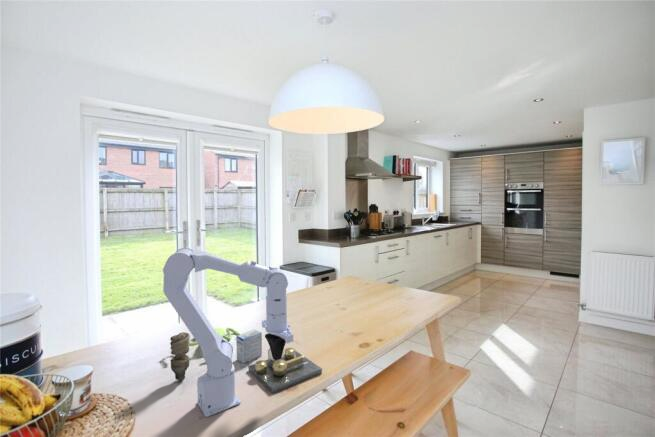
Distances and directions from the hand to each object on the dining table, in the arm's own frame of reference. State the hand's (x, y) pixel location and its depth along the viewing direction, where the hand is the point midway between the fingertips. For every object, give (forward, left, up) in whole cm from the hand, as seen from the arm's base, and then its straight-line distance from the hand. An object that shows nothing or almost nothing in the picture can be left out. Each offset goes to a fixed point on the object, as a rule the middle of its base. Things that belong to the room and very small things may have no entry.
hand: (277, 358), depth 93 cm
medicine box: (+3, +25, -11) cm, 27 cm away
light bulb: (-20, +24, -11) cm, 33 cm away
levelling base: (+8, +9, -10) cm, 16 cm away
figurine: (-6, +43, -11) cm, 44 cm away
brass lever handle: (+8, +7, -9) cm, 14 cm away
